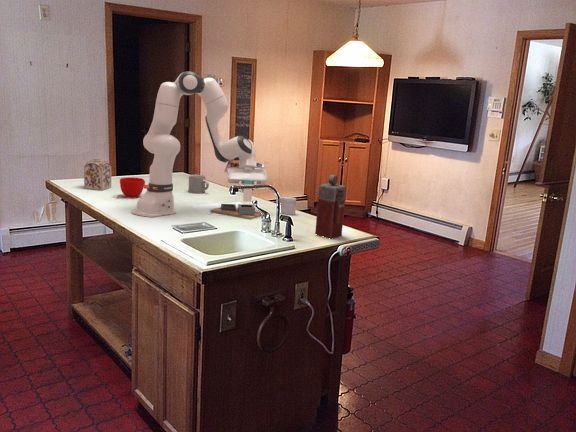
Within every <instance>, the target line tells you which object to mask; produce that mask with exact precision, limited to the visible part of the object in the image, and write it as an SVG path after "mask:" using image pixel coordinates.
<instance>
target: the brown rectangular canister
mask: <svg viewBox="0 0 576 432" xmlns="http://www.w3.org/2000/svg"><path fill="white" fill-rule="evenodd" d="M338 177H339V176H338V175H335V174H330V175H329V176H328V183H324V184H323V183H322V184H320V185H319V186H318V195H317V209H316V221H315V231H314V232H315V233H314V235H315V234H317V235H320V236H319V237H321V236H324V237H323V238H325V237H326V239H329V238H330V240H332V238H333V239H336V238H339V237H342V235H343V226H344V216H345V215H344V213H345V204H346V203H345V201H346V193H347V192H346V191H347V186H345V185H343V184H337V183H338V181H339V178H338ZM317 235H316V236H317Z"/></svg>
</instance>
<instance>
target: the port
mask: <svg viewBox="0 0 576 432" xmlns="http://www.w3.org/2000/svg"><path fill="white" fill-rule="evenodd" d="M237 205H238V206H237V208H238V214H239V215H247V216H255V211H256V207H255V204H247V203H246V204H245V203H243V204H242V203H238V204H237Z"/></svg>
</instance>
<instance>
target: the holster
mask: <svg viewBox="0 0 576 432" xmlns="http://www.w3.org/2000/svg"><path fill="white" fill-rule="evenodd" d="M236 206H237V205H236V203H234V204H233V203H220V207H221V211H236V208H237V207H236Z"/></svg>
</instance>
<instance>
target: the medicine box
mask: <svg viewBox="0 0 576 432" xmlns="http://www.w3.org/2000/svg"><path fill="white" fill-rule="evenodd" d="M280 202H281V213H284V214H283V215H287V216H288V215H289V216H294V215H295V214H296V207H297V206H296V205H297V197H289V196H281V197H280V198H279V203H280Z"/></svg>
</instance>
